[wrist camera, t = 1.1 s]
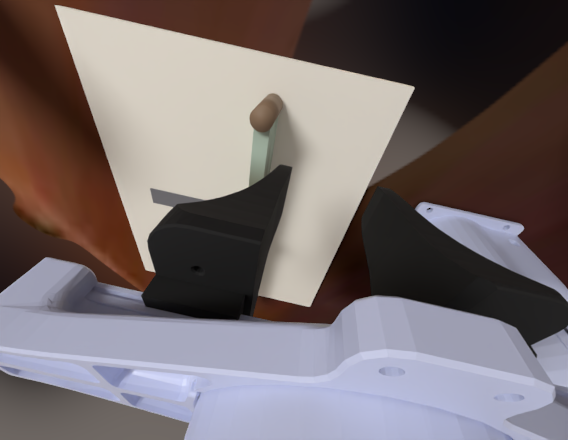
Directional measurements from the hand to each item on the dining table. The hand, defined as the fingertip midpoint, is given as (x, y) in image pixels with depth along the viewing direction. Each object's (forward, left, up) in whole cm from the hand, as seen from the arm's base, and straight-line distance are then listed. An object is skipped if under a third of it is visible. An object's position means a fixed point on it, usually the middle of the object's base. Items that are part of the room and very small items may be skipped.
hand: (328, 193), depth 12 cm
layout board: (+8, +10, -8) cm, 15 cm away
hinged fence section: (+4, +3, -7) cm, 9 cm away
